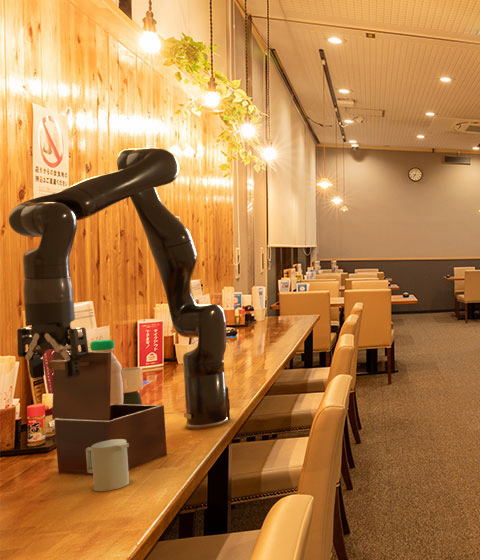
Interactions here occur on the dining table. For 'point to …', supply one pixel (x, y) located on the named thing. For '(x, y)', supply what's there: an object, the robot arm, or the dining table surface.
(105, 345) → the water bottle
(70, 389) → the lid
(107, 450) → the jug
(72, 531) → the dining table surface
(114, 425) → the chest
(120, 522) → the dining table surface
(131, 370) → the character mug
